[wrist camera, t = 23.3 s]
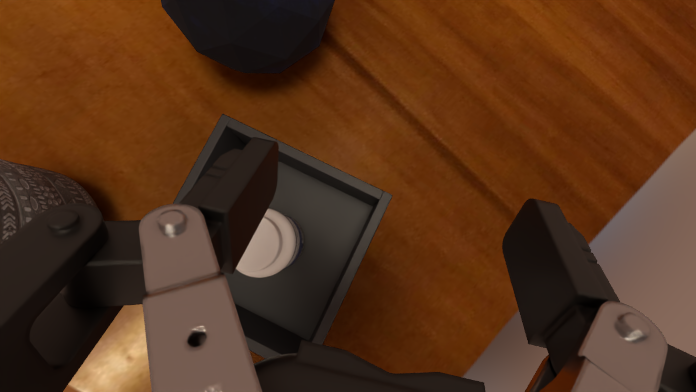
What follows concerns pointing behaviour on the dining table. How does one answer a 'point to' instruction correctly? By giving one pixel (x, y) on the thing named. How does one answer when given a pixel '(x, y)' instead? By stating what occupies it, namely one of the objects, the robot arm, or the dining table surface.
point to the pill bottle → (272, 246)
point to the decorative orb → (252, 30)
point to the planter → (33, 194)
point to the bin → (319, 243)
